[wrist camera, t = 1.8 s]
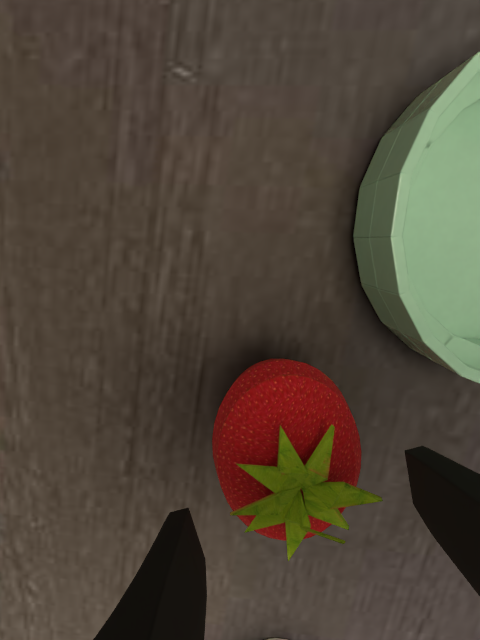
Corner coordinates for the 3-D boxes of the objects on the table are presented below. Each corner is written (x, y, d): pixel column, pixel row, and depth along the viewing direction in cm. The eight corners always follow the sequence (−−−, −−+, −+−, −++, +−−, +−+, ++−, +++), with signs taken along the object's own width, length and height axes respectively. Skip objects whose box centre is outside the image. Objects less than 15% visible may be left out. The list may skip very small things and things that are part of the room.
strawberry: (315, 321, 19) (417, 403, 10) (323, 447, 21) (416, 627, 11) (204, 334, 19) (194, 431, 9) (221, 461, 21) (227, 656, 11)
